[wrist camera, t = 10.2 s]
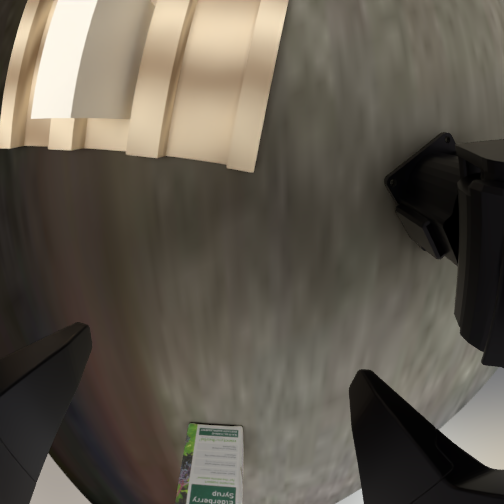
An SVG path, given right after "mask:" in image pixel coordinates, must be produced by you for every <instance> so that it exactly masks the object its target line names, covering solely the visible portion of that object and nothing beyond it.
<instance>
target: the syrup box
mask: <svg viewBox="0 0 504 504" xmlns="http://www.w3.org/2000/svg"><path fill="white" fill-rule="evenodd" d="M243 454H244V450H243V428H242V426H217V425H202V424H195V423H190V424H189V426H188V431H187V437H186V442H185V448H184V454H183V460H182V466H181V472H180V477H179V483H178V489H177V496H176V502H175V504H242V492H243Z"/></svg>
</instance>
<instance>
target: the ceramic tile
mask: <svg viewBox="0 0 504 504" xmlns="http://www.w3.org/2000/svg"><path fill="white" fill-rule="evenodd" d="M154 10H155V6H154V4H153V3H152V2H151V1H150V0H58V2H57V5H56V8H55V11H54V14H53V17H52V20H51V23H50V26H49V30H48V33H47V37H46V41H45V44H44V48H43V52H42V57H41V61H40V66H39V70H38V75H37V81H36V86H35V92H34V98H33V105H32V113H31V119H42V118H106V119H130V118H131V112H132V106H133V100H134V94H135V89H136V83H137V78H138V73H139V69H140V64H141V60H142V55H143V51H144V47H145V43H146V39H147V35H148V31H149V27H150V24H151V20H152V16H153V13H154Z"/></svg>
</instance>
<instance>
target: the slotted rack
mask: <svg viewBox="0 0 504 504" xmlns="http://www.w3.org/2000/svg"><path fill="white" fill-rule="evenodd" d="M150 1H151V2H152V3H153V4H154V6H155V10H154V13H153V16H152V20H151V24H150V27H149V31H148V35H147V39H146V43H145V47H144V51H143V55H142V60H141V64H140V69H139V73H138V78H137V83H136V89H135V94H134V100H133V106H132V112H131V118H130V119H106V118H42V119H31V113H32V105H33V98H34V92H35V86H36V81H37V75H38V70H39V66H40V61H41V57H42V52H43V48H44V44H45V41H46V37H47V33H48V30H49V26H50V23H51V20H52V17H53V14H54V11H55V8H56V5H57V2H58V0H28V1H27V4H26V7H25V10H24V13H23V16H22V19H21V22H20V25H19V28H18V32H17V35H16V39H15V43H14V46H13V50H12V55H11V59H10V63H9V68H8V73H7V78H6V84H5V90H4V96H3V103H2V111H1V120H0V148H15V147H20V146H48V149H54V150H76V149H82V148H91V149H104V150H116V151H126V155H134V156H143V157H152V158H159V157H163V156H172V157H179V158H187V159H194V160H201V161H207V162H214V163H220V164H226V165H227V168H229V169H235V170H240V171H246V172H252V173H254V168H255V163H256V157H257V152H258V147H259V142H260V137H261V132H262V127H263V122H264V117H265V112H266V107H267V102H268V97H269V92H270V87H271V82H272V77H273V72H274V67H275V62H276V57H277V52H278V48H279V43H280V38H281V33H282V29H283V24H284V19H285V14H286V10H287V5H288V0H150Z"/></svg>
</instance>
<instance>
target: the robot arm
mask: <svg viewBox="0 0 504 504" xmlns="http://www.w3.org/2000/svg"><path fill="white" fill-rule="evenodd" d="M445 137H447V142H445ZM392 179H394V184H393V185H392V186H391V184H390V181H391V180H392ZM385 186H386V187H387V189H388V191H389V192H390V194H391V196H392V197H393V199H394V201H395V203H396V204H397V206H396V210H395V211H396V213H397V215H398V217H399V218H400V220H401V222H402V224H403V226H404V227H405V229H406V231H407V233H408V235H409V236H410V238H411V239H413V240H414V241H415V242H416V243H418V245H419V247H420V248H421V249H422V250H424V251H428V252H429V253H430V254H431V255H432V256H434V257H435V258H436V259H442V258H443V257H444V256H446V257H447V258H448V259H449V260H451V261H452V262H453V263H454V264H456V265H457V266H458V274H457V287H456V298H455V310H454V315H455V317H456V320H457V322H458V325H459V327H460V334H461V336H462V337H463V338H464V339H465V340H466V341H467V342H468V343H469V344H471V345H473V346H474V347H476V348H477V349H479V350H480V351H482V352H484V354H483V357H482V360H481V363H482V364H483V365H488V366H497V367H502V368H504V139H500V140H489V141H480V142H471V143H462V144H456V143H455V141H454V139H453V137H452V136H451V134H450V133H445V132H443V133H441V134H440V135H439V136H437V137H436V138H435V139H434V140H432V141H431V142H430V143H429V144H427V145H426V146H425V147H423V148H422V149H421V150H420V151H418V152H417V153H416V154H415V155H413V156H412V157H411V158H410V159H408V160H407V161H406V162H404V163H403V164H402V165H401V166H399V167H398V168H397V169H395V170H394V171H393V172H392V173H390V174H389V175H388V176H387V177H386V178H385ZM91 350H92V340H91V333H90V328H89V326H88V325H87V324H83V323H80V322H77V323H74V324H72V325H70V326H68V327H66V328H64V329H62V330H60V331H58V332H56V333H53V334H51V335H49V336H47V337H45V338H43V339H41V340H39V341H37V342H35V343H33V344H31V345H28V346H26V347H24V348H22V349H20V350H18V351H16V352H14V353H12V354H10V355H8V356H6V357H4V358H2V359H0V504H29V503H30V500H31V497H32V494H33V491H34V489H35V486H36V482H37V480H38V477H39V475H40V472H41V469H42V467H43V464H44V462H45V459H46V457H47V454H48V452H49V449H50V447H51V445H52V442H53V440H54V438H55V435H56V433H57V431H58V428H59V426H60V424H61V422H62V420H63V417H64V415H65V413H66V411H67V409H68V406H69V404H70V402H71V400H72V398H73V396H74V394H75V392H76V390H77V387H78V385H79V383H80V380H81V377H82V374H83V371H84V369H85V366H86V363H87V361H88V358H89V355H90V353H91ZM349 399H350V412H351V425H352V433H353V439H354V444H355V450H356V456H357V462H358V468H359V474H360V480H361V487H362V494H363V500H364V504H504V470H497V469H492V468H489V467H487V466H485V465H483V464H482V463H481V462H479V461H478V460H476V459H475V458H474V457H472V456H471V455H469V454H468V453H467V452H465V451H464V450H462V449H461V448H459V447H458V446H457V445H456V444H454V443H453V442H452V441H451V440H449V439H448V438H447V437H446V436H445V435H444V434H442V433H441V432H440V431H439V430H438V429H436V428H435V427H434V426H433V425H432V424H431V423H430V422H429V421H428V420H426V419H425V418H424V417H423V416H422V415H421V414H420V413H419V412H417V411H416V410H415V409H414V408H413V407H412V406H411V405H410V404H408V403H407V402H406V401H405V400H404V399H403V398H402V397H401V396H399V395H398V394H397V393H396V392H395V391H394V390H393V389H392V388H390V387H389V386H388V385H387V384H386V383H385V382H384V381H383V380H382V379H380V378H379V377H378V376H377V375H376V374H375V373H374V372H373V371H371V370H366V369H361V370H359V371H358V372H357V374H356V376H355V377H354V379H353V381H352V383H351V385H350V387H349Z"/></svg>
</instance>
